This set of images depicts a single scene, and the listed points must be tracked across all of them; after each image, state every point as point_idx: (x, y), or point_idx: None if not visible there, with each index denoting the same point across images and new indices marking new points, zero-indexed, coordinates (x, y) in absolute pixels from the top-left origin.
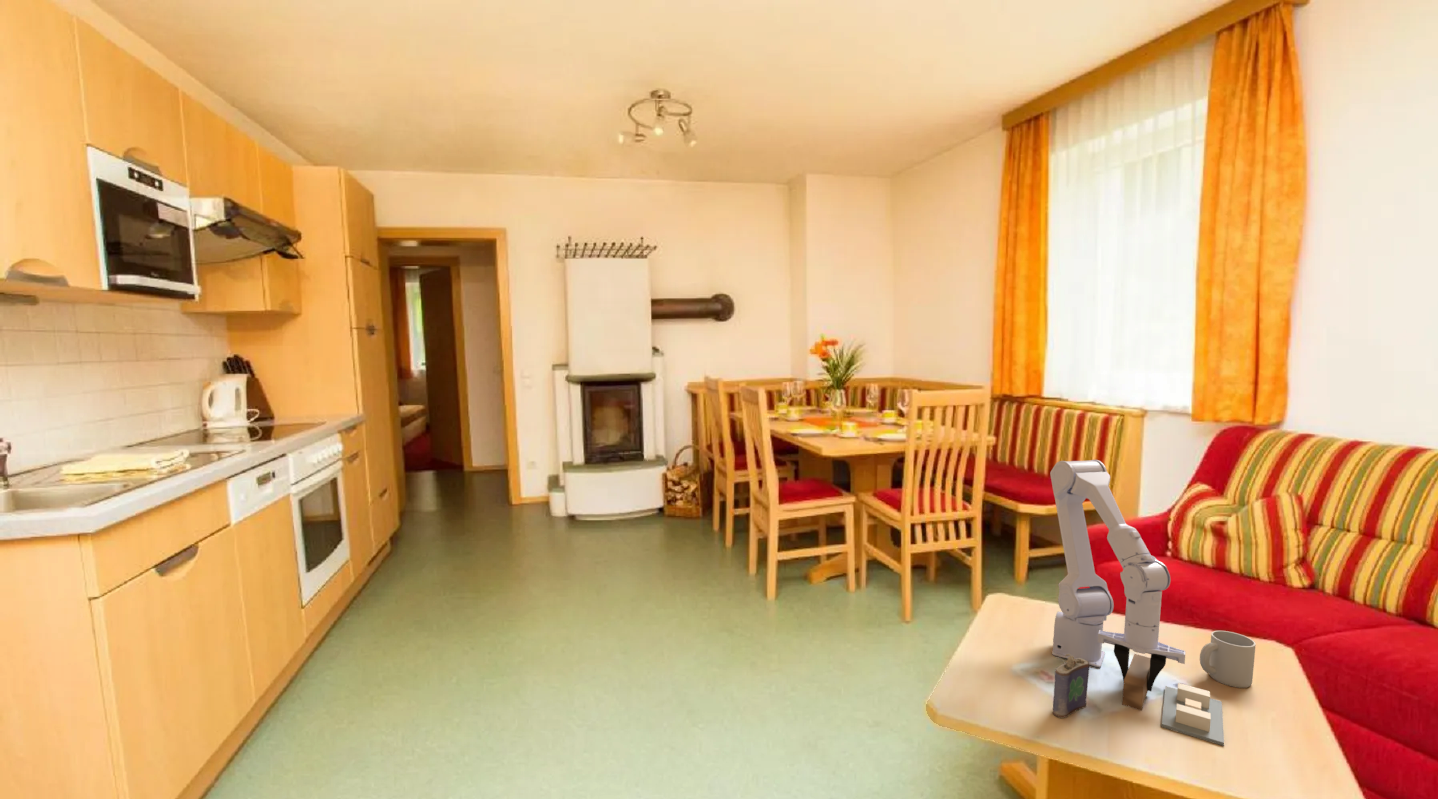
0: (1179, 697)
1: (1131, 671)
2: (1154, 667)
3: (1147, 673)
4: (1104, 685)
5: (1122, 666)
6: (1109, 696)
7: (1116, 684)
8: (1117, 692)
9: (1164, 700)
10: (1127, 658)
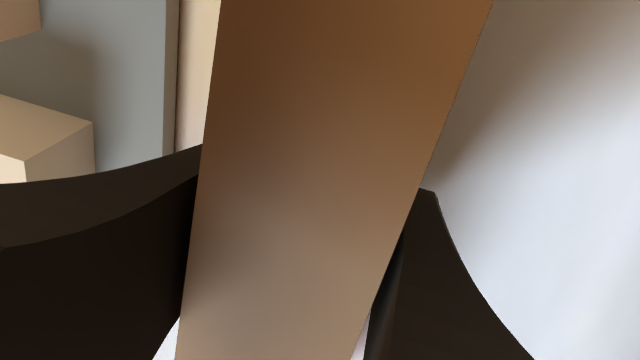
0: (63, 126)
1: (356, 229)
2: (28, 214)
3: (193, 234)
4: (583, 200)
5: (456, 289)
6: (608, 2)
7: (470, 243)
8: (499, 115)
9: (160, 74)
10: (390, 355)
